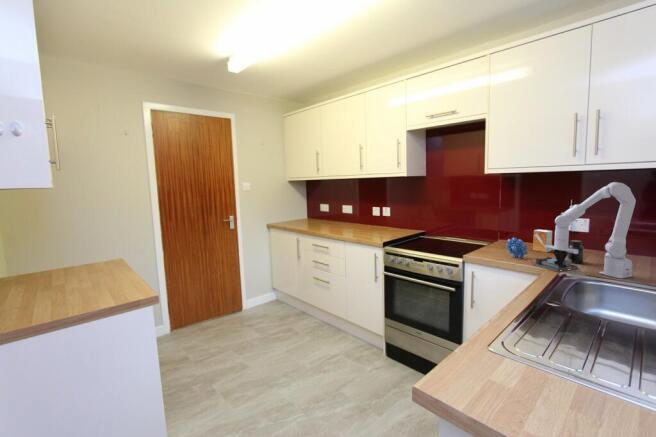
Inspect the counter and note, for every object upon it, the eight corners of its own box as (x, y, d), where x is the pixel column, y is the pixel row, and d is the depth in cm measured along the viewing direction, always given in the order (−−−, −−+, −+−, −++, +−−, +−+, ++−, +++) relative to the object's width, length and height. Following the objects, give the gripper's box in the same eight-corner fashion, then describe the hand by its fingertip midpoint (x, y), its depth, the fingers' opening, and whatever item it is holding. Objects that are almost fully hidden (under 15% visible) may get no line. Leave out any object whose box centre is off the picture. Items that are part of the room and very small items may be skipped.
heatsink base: (577, 268, 163) (578, 260, 162) (556, 271, 159) (557, 263, 159) (552, 262, 176) (552, 254, 176) (532, 264, 173) (532, 257, 172)
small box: (532, 250, 204) (533, 230, 202) (538, 248, 207) (539, 229, 205) (546, 252, 197) (547, 231, 195) (551, 251, 200) (552, 230, 198)
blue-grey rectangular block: (560, 265, 165) (561, 260, 164) (554, 266, 163) (554, 261, 163) (548, 262, 171) (548, 257, 171) (541, 263, 170) (541, 258, 170)
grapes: (502, 257, 190) (503, 237, 189) (507, 255, 195) (507, 236, 193) (524, 260, 181) (525, 240, 180) (528, 258, 186) (529, 238, 184)
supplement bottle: (579, 260, 176) (580, 239, 175) (585, 264, 170) (587, 242, 168) (565, 260, 178) (566, 239, 177) (570, 263, 172) (571, 242, 170)
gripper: (582, 240, 156) (580, 266, 158) (550, 235, 169) (549, 260, 171) (574, 242, 153) (573, 269, 155) (542, 237, 166) (541, 262, 167)
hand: (560, 264), depth 162 cm, fingers closed
